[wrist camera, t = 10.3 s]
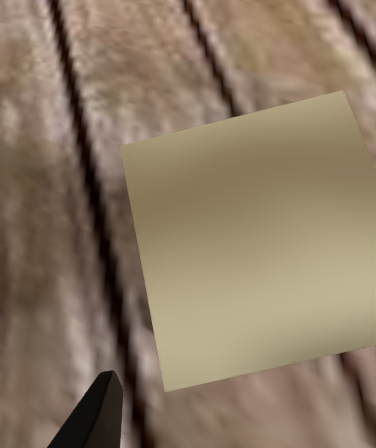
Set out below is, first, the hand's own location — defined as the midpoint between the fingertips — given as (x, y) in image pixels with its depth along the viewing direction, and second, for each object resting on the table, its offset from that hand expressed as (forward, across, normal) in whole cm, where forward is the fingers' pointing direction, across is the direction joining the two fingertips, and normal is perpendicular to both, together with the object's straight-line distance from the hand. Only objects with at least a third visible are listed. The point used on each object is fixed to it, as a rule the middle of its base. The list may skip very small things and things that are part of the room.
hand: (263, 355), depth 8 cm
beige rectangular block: (+10, 0, +3) cm, 10 cm away
